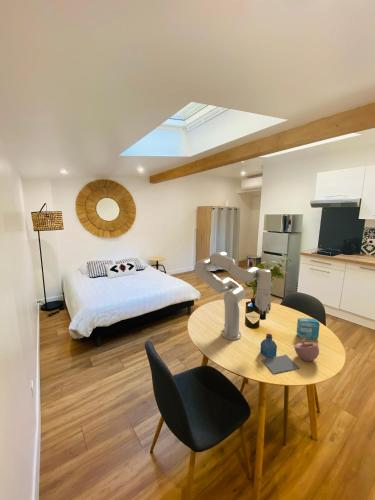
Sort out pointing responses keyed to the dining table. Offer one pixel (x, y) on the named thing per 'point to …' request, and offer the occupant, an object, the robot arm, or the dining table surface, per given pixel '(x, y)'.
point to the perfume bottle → (268, 347)
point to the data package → (308, 328)
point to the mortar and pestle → (307, 350)
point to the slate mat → (280, 364)
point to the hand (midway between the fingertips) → (262, 319)
